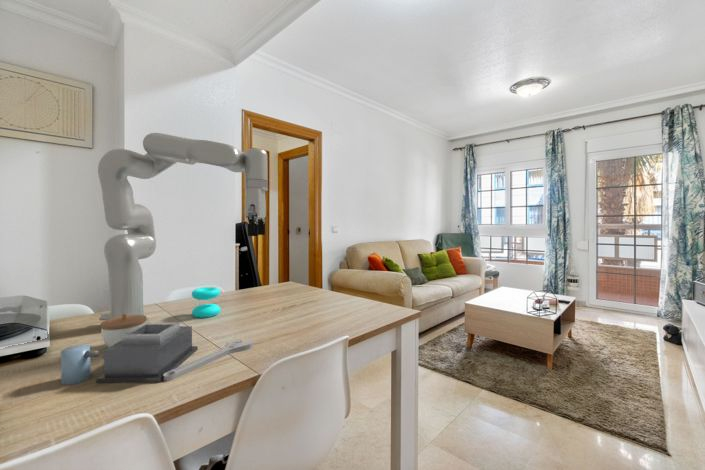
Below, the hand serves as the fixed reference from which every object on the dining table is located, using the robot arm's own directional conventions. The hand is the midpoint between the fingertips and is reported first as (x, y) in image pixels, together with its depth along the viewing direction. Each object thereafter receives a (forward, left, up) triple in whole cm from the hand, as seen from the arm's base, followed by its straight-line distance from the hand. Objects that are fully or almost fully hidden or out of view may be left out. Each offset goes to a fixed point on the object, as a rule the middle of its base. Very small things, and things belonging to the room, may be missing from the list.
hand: (257, 235), depth 110 cm
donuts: (-23, +12, -32) cm, 41 cm away
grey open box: (-18, -31, -31) cm, 48 cm away
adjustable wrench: (-5, -28, -32) cm, 43 cm away
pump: (-30, -38, -31) cm, 58 cm away
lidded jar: (-33, -19, -32) cm, 49 cm away
